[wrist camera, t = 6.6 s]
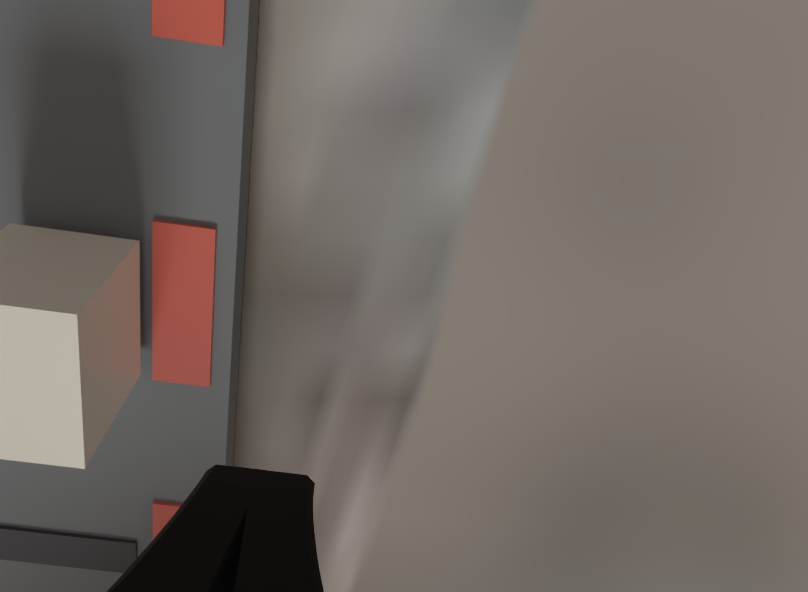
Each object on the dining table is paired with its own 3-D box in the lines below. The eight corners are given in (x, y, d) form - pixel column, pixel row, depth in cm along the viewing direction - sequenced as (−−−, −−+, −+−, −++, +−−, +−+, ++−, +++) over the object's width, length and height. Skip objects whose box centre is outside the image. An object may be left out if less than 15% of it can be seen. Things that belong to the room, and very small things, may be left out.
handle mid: (21, 359, 16) (-59, 452, 13) (9, 223, 14) (-84, 294, 12) (140, 374, 16) (84, 469, 13) (139, 240, 14) (77, 314, 12)
